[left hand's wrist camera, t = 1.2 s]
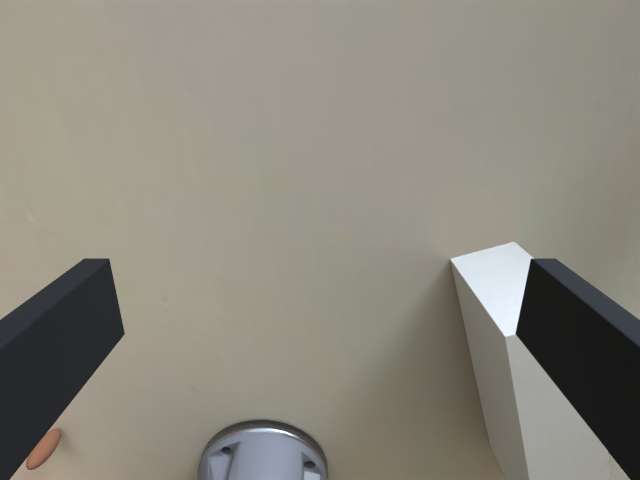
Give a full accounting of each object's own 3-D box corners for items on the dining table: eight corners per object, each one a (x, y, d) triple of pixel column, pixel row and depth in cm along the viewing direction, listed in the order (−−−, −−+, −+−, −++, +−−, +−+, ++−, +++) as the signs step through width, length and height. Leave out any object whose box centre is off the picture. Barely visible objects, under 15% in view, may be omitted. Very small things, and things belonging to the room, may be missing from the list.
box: (542, 432, 46) (614, 550, 35) (489, 444, 47) (543, 563, 36) (513, 241, 38) (599, 313, 26) (449, 258, 38) (504, 336, 27)
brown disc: (70, 430, 47) (42, 469, 42) (60, 439, 47) (32, 478, 43) (55, 420, 46) (25, 458, 41) (46, 429, 47) (15, 468, 42)
